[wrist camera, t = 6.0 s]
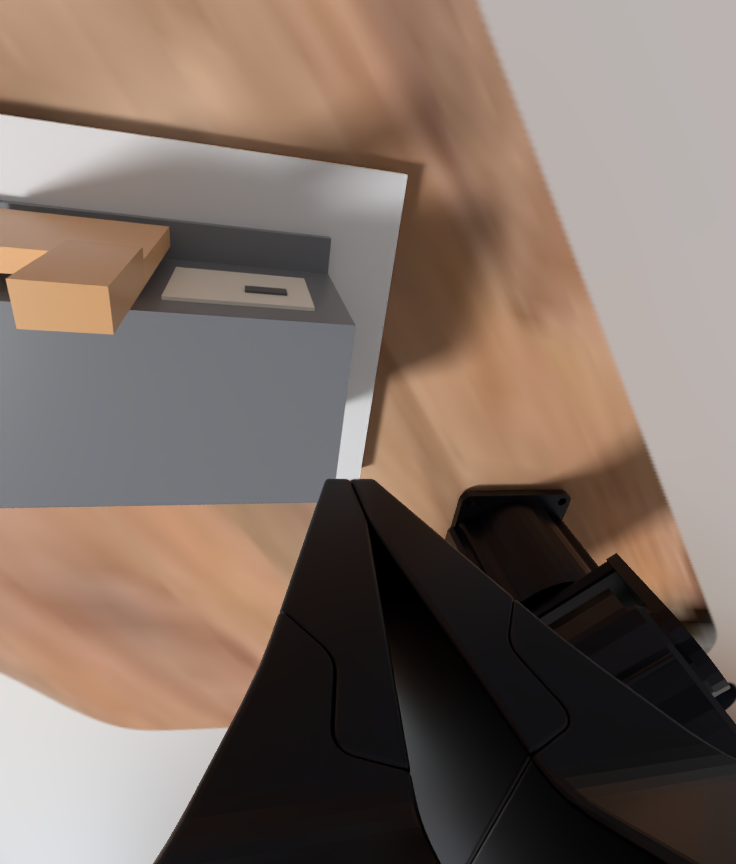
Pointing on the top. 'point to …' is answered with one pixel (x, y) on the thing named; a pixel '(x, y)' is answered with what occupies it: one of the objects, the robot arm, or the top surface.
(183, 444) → the grey and white panel
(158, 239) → the wooden block
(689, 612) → the top surface
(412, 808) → the robot arm
